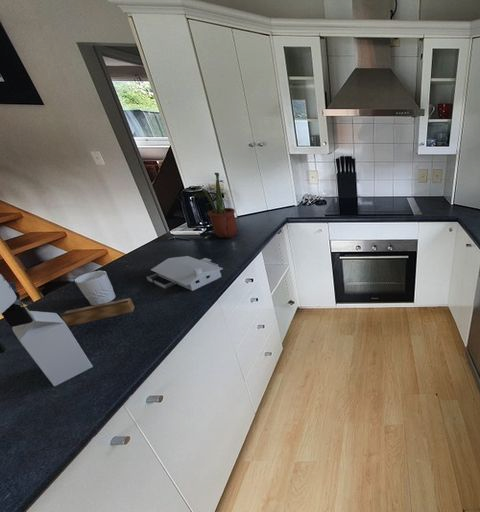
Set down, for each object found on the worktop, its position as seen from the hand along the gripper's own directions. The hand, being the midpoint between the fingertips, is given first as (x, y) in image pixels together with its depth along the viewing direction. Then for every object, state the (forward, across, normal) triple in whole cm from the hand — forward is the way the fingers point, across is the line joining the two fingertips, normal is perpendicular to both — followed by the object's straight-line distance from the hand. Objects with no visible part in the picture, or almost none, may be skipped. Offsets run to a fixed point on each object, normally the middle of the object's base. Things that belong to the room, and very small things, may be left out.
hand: (9, 338), depth 55 cm
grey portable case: (+19, -53, +24) cm, 61 cm away
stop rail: (+19, -35, -1) cm, 39 cm away
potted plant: (+19, -92, +36) cm, 101 cm away
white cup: (+19, -47, -4) cm, 51 cm away
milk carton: (+19, -10, -1) cm, 21 cm away
